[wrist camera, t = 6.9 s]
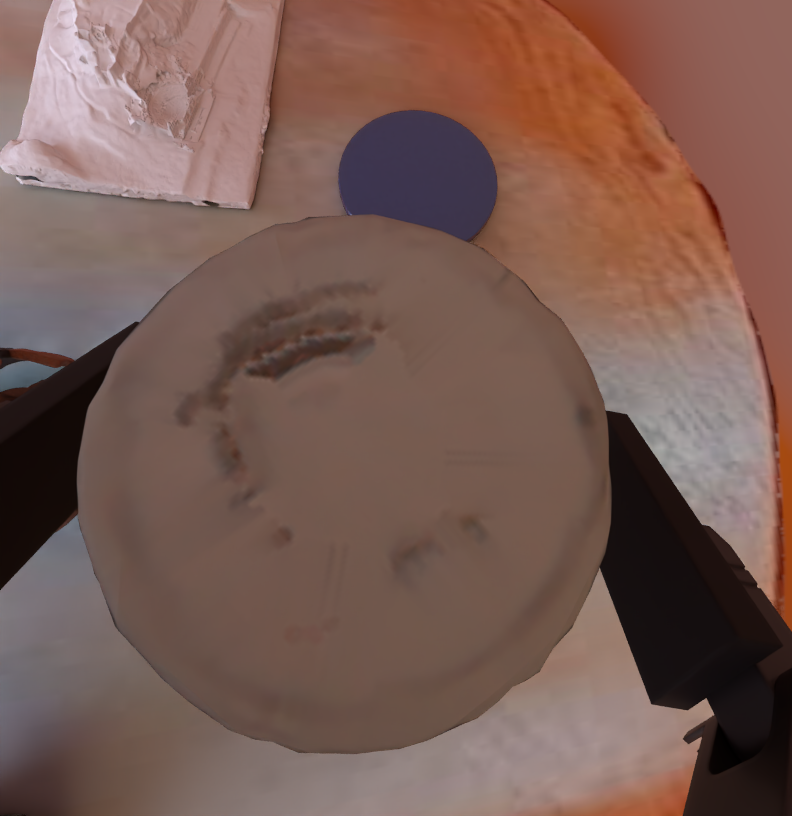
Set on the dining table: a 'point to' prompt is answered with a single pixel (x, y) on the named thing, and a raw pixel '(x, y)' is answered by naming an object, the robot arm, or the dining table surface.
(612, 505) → the robot arm
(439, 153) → the coaster
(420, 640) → the sauce bottle
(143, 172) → the terrain model
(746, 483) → the dining table surface
